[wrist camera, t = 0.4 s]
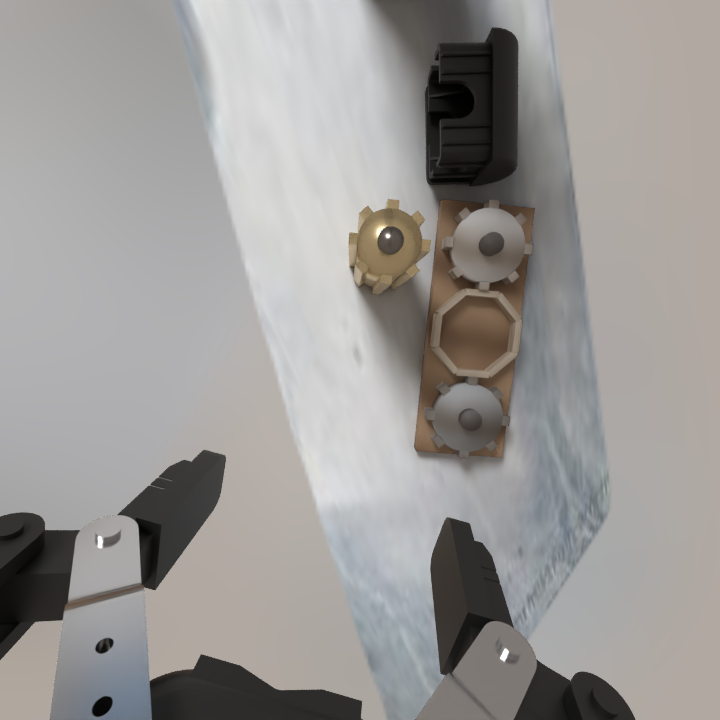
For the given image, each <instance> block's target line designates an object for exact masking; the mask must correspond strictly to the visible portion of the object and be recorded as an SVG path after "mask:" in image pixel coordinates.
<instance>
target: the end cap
mask: <svg viewBox="0 0 720 720" xmlns="http://www.w3.org/2000/svg"><path fill="white" fill-rule="evenodd" d="M435 60H439V66H431V70H430V73H429V77H428V86H427V88H426V92H425V112H426V177H427V182H428V183H429V184H431V185H450V184H469V186H478V185H484V184H489V183H493V182H496V181H499V180H502V179H504V178H506V177H508V176H509V175H511V174H512V173H513V172H514V171H515V170H516V167H517V130H518V41H517V39H516V37H515V35H514V34H513V33H512V32H510V31H508V30H506V29H502V28H492V29H491V31H490V33H489V35H488V37H487V39H486V41H485V43H442V44H438V47H437V50H436V54H435Z"/></svg>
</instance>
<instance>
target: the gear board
mask: <svg viewBox="0 0 720 720" xmlns="http://www.w3.org/2000/svg"><path fill="white" fill-rule="evenodd" d="M499 201H500V200H491V199H490V200H489V201H488V202H486V203H475V202H465V201H455V200H444V199H443V200H442V201H441V202H440V205H439V215H438V224H437V234H436V243H435V253H434V262H433V272H432V281H431V291H430V301H429V310H428V320H427V329H426V339H425V348H424V358H423V367H422V377H421V386H420V396H419V406H418V415H417V425H416V434H415V444H414V448H415V450H416V451H425V452H438V453H451V454H456V455H457V456H458V457H459V458H463V459H468V456H469V455H478V456H491V457H502V454H503V446H504V439H505V431H506V426H509V422H510V417H509V416H508V408H509V401H510V393H511V385H512V378H513V370H514V362H515V357H517V356H516V354H518V351H519V344H520V336H521V329H522V321H520V320H521V319H522V318H521V309H522V302H523V294H524V286H525V279H526V271H527V264H528V256H529V255H531V254H532V248H533V244H530V241H531V233H532V226H533V218H534V210H535V208H526V207H516V206H506V205H499Z"/></svg>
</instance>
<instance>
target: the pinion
mask: <svg viewBox="0 0 720 720" xmlns="http://www.w3.org/2000/svg"><path fill="white" fill-rule="evenodd" d="M398 209H399V200H391V199H388V201H387V204H386V208H385V209H382V210H379V211H376V212H375V213H373V211H372V210H371V209H370V208H369V206H367V207H366V208H365V209H363V210H362V211H361V212H360V213H359V222H358V233H349V266H350V267H355V271H354V281H355V283H356V284H357V285H358V286H359V287H360V286H361V285H362V284H363V283H365V284H366V285H368V286H370V287H373V288H372V294H381V293H382V292H383V291H384V290H385V289H387V288H388V287H389V286H391V287H392V288H393V290H395V289H396V288H397V287H399V286H400V285H402V284H403V283H404V282H406V281H407V280H409V279H410V278H412V277H413V276H414V275H415V274H416V273H417V272H419V271H420V270H419V269H418V268H417V266H416V265H415V264H416V263H417V262H418V261H420V260H421V259H422V258H423V257H424V256H425V255H426V254H428V253H429V252H430V244H431V240H424V239H422V235H421V231H420V229H419V227H420V226H421V224H422V223H423V222H424V220H425V219H424V218H423V216H422V215H421V214H420V213H419V211H417V212H416V213H414V214H413V215H412V216H410V215H408V214H407V213H405V212H403V211H401V210H398Z"/></svg>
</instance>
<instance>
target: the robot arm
mask: <svg viewBox="0 0 720 720" xmlns="http://www.w3.org/2000/svg"><path fill="white" fill-rule="evenodd" d="M225 462H226V457H225V455H222V454H218V453H214V452H211V451H207V450H203V451H202V452H201V453H200V454H199V455H198V456H197V457H196V458H195V459H194V460H193V461H192V462H190V461H186V460H183V461H180V462H178V463H176V464H174V465H172V466H170V467H168V468H167V469H166V470H165V471H164V472H163V473H162V474H161V475H160V476H159V478H157V479H156V480H155V481H153V482H152V483H151V485H150V486H148V487H147V488H146V489H145V490H144V491H143V492H142V493H140V494H139V495H138V496H137V497H136V498H135V499H134V500H133V501H132V502H131V503H130V504H128V505H127V506H126V507H125V508H124V509H123V510H122V511H121V512H120V513H119V514H118V515H112V516H106V517H102V518H99V519H96V520H94V521H92V522H90V523H89V524H87V525H86V526H84V527H83V528H82V529H81V530H71V531H70V530H45V522H44V520H43V519H42V518H41V517H40V516H39V515H36V514H33V513H13V514H8V515H4V516H1V517H0V660H1V659H2V658H3V657H4V655H5V654H6V653H7V652H8V651H9V650H10V649H11V648H12V647H13V646H14V644H15V643H16V642H17V641H18V640H19V639H20V638H21V637H22V636H23V635H24V633H25V632H26V631H27V630H28V629H29V628H30V627H31V625H33V624H34V622H38V621H56V620H63V623H62V631H61V638H60V645H59V653H58V660H57V668H56V676H55V683H54V691H53V698H52V706H51V713H50V720H363V719H361V708H362V701H359V700H356V699H353V698H349V697H346V696H342V695H339V694H336V693H332V692H329V691H325V690H277V689H275V688H273V687H271V686H270V685H268V684H267V683H265V682H264V681H262V680H261V679H259V678H258V677H256V676H255V675H253V674H252V673H250V672H249V671H247V670H246V669H244V668H243V667H241V666H240V665H236V664H233V663H229V662H226V661H222V660H219V659H215V658H212V657H208V656H205V655H201V656H200V658H199V660H198V662H197V664H196V666H195V668H194V669H191V670H182V671H175V672H172V673H168V674H165V675H162V676H160V677H157V678H155V679H153V680H151V681H150V680H149V663H148V644H147V628H146V612H145V611H146V610H145V593H144V587H145V588H149V589H152V590H156V588H157V587H158V586H159V584H160V583H161V581H162V580H163V579H164V577H165V576H166V574H167V573H168V572H169V570H170V569H171V568H172V566H173V565H174V564H175V562H176V561H177V559H178V558H179V557H180V555H181V554H182V553H183V551H184V549H185V548H186V547H187V546H188V544H189V543H190V542H191V540H192V539H193V537H194V536H195V535H196V533H197V532H198V530H199V529H200V528H201V526H202V525H203V524H204V522H205V521H206V519H207V518H208V517H209V515H210V514H211V513H212V511H213V510H214V508H215V506H216V504H217V502H218V499H219V497H220V493H221V488H222V482H223V475H224V469H225ZM430 570H431V581H432V591H433V601H434V611H435V621H436V631H437V641H438V652H439V662H440V672H441V674H443V675H446V676H445V678H444V679H443V681H442V682H441V683H440V685H439V686H438V688H437V689H436V690H435V692H434V693H433V695H432V696H431V698H430V699H429V700H428V702H427V703H426V705H425V706H424V708H423V709H422V710H421V712H420V713H419V715H418V716H417V718H416V719H415V720H635V718H634V716H633V714H632V712H631V710H630V708H629V706H628V705H627V703H626V702H625V701H624V699H623V698H622V697H621V696H620V695H619V693H618V692H617V691H616V690H615V689H614V688H613V687H612V686H610V685H609V684H608V683H607V682H606V681H604V680H603V679H601V678H599V677H598V676H596V675H594V674H591V673H588V672H578V673H576V674H575V675H574V676H573V678H572V679H571V681H570V680H568V679H566V678H565V677H563V676H561V675H560V674H558V673H556V672H555V671H553V670H551V669H550V668H548V667H546V666H545V665H543V664H542V663H540V662H539V661H538V660H536V656H535V653H534V651H533V649H532V647H531V646H530V644H529V643H528V641H527V640H526V639H525V638H524V636H523V635H522V634H521V633H519V632H518V631H517V630H516V629H514V627H513V623H512V620H511V617H510V614H509V610H508V607H507V604H506V601H505V597H504V594H503V591H502V588H501V585H500V584H499V583H500V581H499V578H498V575H497V573H496V568H495V565H494V562H493V558H492V556H491V554H490V553H489V552H488V550H487V549H486V547H485V546H484V545H483V543H481V542H477V541H474V538H473V534H472V530H471V526H470V524H469V523H467V522H463V521H459V520H456V519H452V518H449V517H447V518H446V519H445V521H444V524H443V526H442V529H441V532H440V534H439V537H438V540H437V542H436V545H435V548H434V550H433V554H432V558H431V568H430Z"/></svg>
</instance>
